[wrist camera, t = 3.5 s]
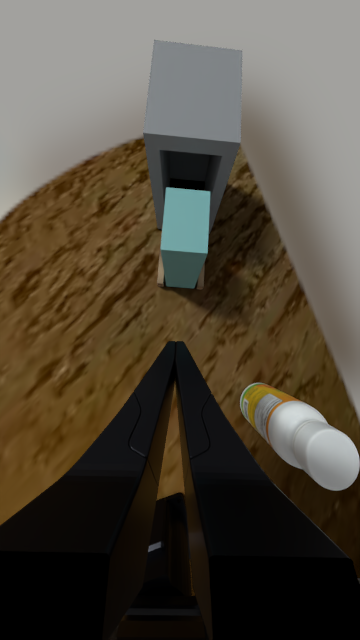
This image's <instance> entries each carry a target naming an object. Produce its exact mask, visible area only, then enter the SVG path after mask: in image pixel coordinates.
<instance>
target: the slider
mask: <svg viewBox="0 0 360 640" xmlns="http://www.w3.org/2000/svg"><path fill="white" fill-rule="evenodd" d="M209 212H210V191H201V190H190V189H180V188H169V187H166V194H165V206H164V217H163V228H162V239H161V256H162V262H163V268H164V275H165V281H166V286H168V287H181V288H194V287H195V285H196V282H197V280H198V277H199V274H200V272H201V269H202V267H203V264H204V261H205V259H206V256H207V254H208V233H209Z"/></svg>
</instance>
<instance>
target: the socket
mask: <svg viewBox="0 0 360 640" xmlns="http://www.w3.org/2000/svg"><path fill="white" fill-rule="evenodd" d="M241 88H242V51H241V50H234V49H226V48H218V47H209V46H201V45H193V44H184V43H176V42H167V41H159V40H154V46H153V55H152V63H151V72H150V80H149V89H148V98H147V106H146V114H145V123H144V132H143V134H144V141H145V147H146V154H147V160H148V167H149V174H150V180H151V187H152V193H153V200H154V207H155V213H156V220H157V226H158V229H162V224H163V217H164V206H165V194H166V187H170V178H174V179H184V180H195V181H205V191H210V212H209V233H210V232H211V229H212V226H213V223H214V220H215V217H216V214H217V211H218V208H219V205H220V202H221V199H222V196H223V193H224V191H225V188H226V185H227V182H228V179H229V176H230V173H231V170H232V167H233V164H234V161H235V158H236V155H237V152H238V149H239V146H240V143H241V91H242V89H241Z"/></svg>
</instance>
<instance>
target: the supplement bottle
mask: <svg viewBox="0 0 360 640" xmlns="http://www.w3.org/2000/svg"><path fill="white" fill-rule="evenodd" d="M240 407H241V411H242V413H243V415H244V417H245V418H246V419H247V420H248V422H249V423H250V424H251V425H252V426H253V427H254V428H255V429H256V430H257V432H258V433H259V434H260V435H261V436H262V437H263V438H264V439H265V440H266V442H267V443H268V444H269V445H270V446H271V447H272V448H273V449H274V450H275V452H276V453H277V454H278V455H279V456H280V457H281V458H282V459H283V460H284V461H286V462H287V463H288V464H290V465H292V466H294V467H296V468H299V469H303V470H304V471H305V472H306V473H307V474H308V475H309V476H310V477H312V478H313V479H314V480H315V481H316V482H317V483H318V484H319V485H321V486H322V487H324V488H326V489H329V490H334V491H339V490H343V489H346V488H348V487H349V486H350V485H351V484H352V483H353V482H354V481H355V479H356V478H357V475H358V472H359V467H360V461H359V455H358V452H357V449H356V447H355V445H354V444H353V442H352V441H351V440H350V438H349V437H347V436H346V435H345V434H344V433H342V432H341V431H339V430H337V429H335V428H334V427H332V426H330V425H328V423H327V421H326V420H325V418H324V417H323V416H322V415H321V414H320V413H319V412H318V411H317V410H316V409H314V408H313V407H311V406H310V405H308V404H306V403H304V402H302V401H300V400H298V399H296V398H294V397H292V396H290V395H288V394H286V393H284V392H281V391H279V390H277V389H275V388H273V387H271V386H269V385H267V384H264V383H254V384H251V385H249V386H248V387H247V388H246V389H245V390H244V391H243V393H242V395H241V399H240Z"/></svg>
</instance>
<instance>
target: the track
mask: <svg viewBox="0 0 360 640" xmlns="http://www.w3.org/2000/svg"><path fill="white" fill-rule="evenodd" d="M162 228H163V224H162ZM161 239H162V235H161ZM204 269H205V261H204V264H203V267H202V269H201V272H200V274H199V277H198V280H197V289H201V290H202V289H203V287H204ZM164 276H165V275H164V268H163V262H162V256H161V246H160V257H159V268H158V279H157V284H158V286H162V287H164Z"/></svg>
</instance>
